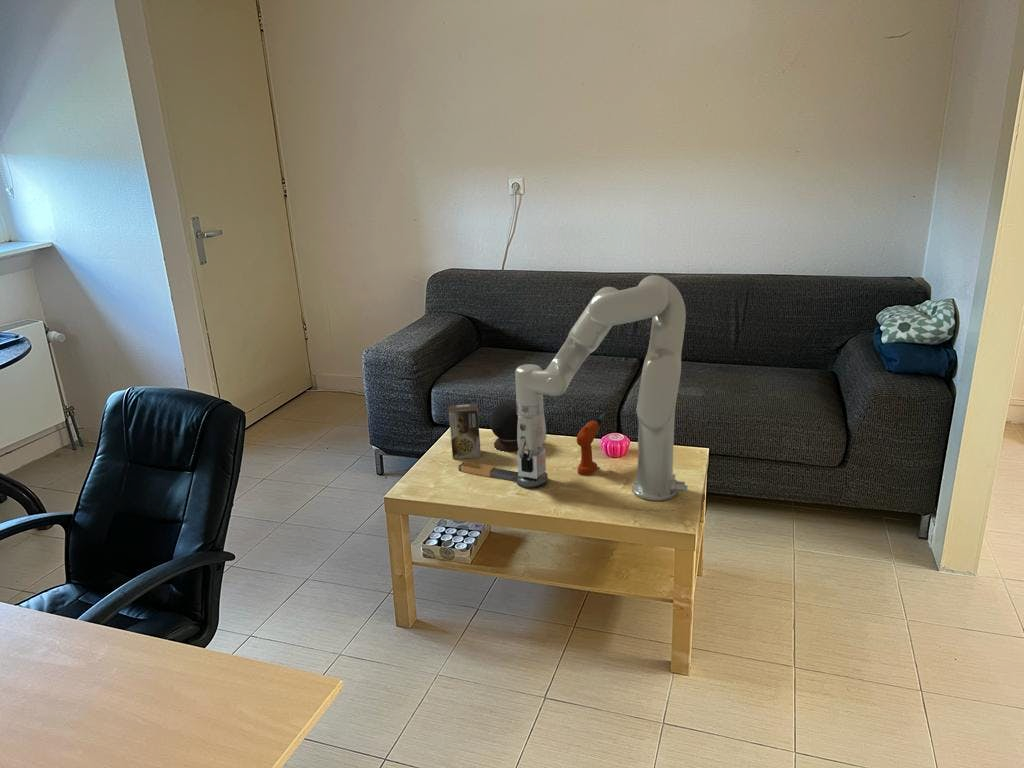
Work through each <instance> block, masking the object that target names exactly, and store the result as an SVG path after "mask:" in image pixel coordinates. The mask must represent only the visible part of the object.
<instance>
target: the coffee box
mask: <svg viewBox="0 0 1024 768" xmlns="http://www.w3.org/2000/svg"><path fill="white" fill-rule="evenodd" d="M478 411H479V410H478V404H477V403H463V404H450V405H449V406H448V419H449V430H450V441H451V455H452V456H451V458H452V460H459V459H470V458H471V459H473V458H481V457H482V451H481V441H480V440H481V438H480V427H479V412H478Z"/></svg>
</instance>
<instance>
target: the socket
mask: <svg viewBox="0 0 1024 768" xmlns="http://www.w3.org/2000/svg"><path fill="white" fill-rule="evenodd" d="M525 448H527V446H525ZM527 449H528V448H527ZM524 452H525V453H526V454H527V455H528V451H524ZM516 453H517V452H516ZM516 455H517V472H518V476H523V477H529V478H534V479H538V478H539V477H540V476H541V475H542V474H543V473H544V472H546V471H547V469H546V468H547V466H546V464H547V463H546V462H547V461H546V448H544V447H542V448H539V447H538V448H537V449H536V450H534V451H532V452H531V459H532V472H531V473H529V472H524V471H522V467H521V459H520V455H519V454H518V453H517V454H516Z"/></svg>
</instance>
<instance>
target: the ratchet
mask: <svg viewBox="0 0 1024 768" xmlns="http://www.w3.org/2000/svg"><path fill="white" fill-rule="evenodd" d="M458 472H461V473H466V472H467V473H468V474H471V473H472V475H479V476H483V477H487V478H494V479H501V480H506V481H511V482H516V485H517V486H518V487H520V488H523V489H526V490H536V489H537V490H538V489H541V487H542V488H544V487H545V485H546V486H547V485H548V481H549V479H548V478H549V477H548V473H547V472H546V471H545V472H544V473H543V474H542V475H541V476H540V477H539V478H538V479H534V478H529V477H523V476H518V471H515V470H509V469H503V468H497V467H496V466H495V465H491V464H490V465H489V464H485V463H479V462H478V463H477V462H475V461H474V462H473V461H465V462H464V461H463V462H461V463H460V464H459V465H458Z"/></svg>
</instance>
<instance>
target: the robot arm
mask: <svg viewBox="0 0 1024 768" xmlns="http://www.w3.org/2000/svg"><path fill="white" fill-rule="evenodd" d="M686 312H687V311H686V305H685V302H684V298H683V296H682V294H681V292H680V291H679V289H678V287H676V285H675V284H673V282H671V281H670V280H669V279H667V278H666V277H663V276H662V275H659V274H658V275H656V274H655V275H654V274H651V275H648V276H646V277H644V278H643V279H642V280H640V282H639V283H638V285H637V286H634V287H629V288H626V289H620V290H619V289H617V288H616V287H612V286H604V287H602V288H600V289H598V291H596V292H595V294H594V295H593V296H592V298H591V300H590V301H589V303H588V305H586V307H585V309H584V310H583V312H582V313H581V314H580V316H579V317H578V319H577V320H576V322H575V323H574V325H573V326H572V327H571V329H570V331H569V333H568V334H567V338H566V339H565V342H564V343H562V346H561V347H560V349H559V350H558V352H557V353H556V354H555V356H554V357H553V359H552V360H551V362H550V363H549V364H548V366H547V367H546V369H542V368H541V366H539V365H537V364H531V363H530V364H529V363H528V364H527V363H525V364H522V365H519V366H518V367H516V369H515V372H514V374H515V377H514V378H515V396H516V399H515V402H517V403H516V404H517V415H518V426H517V442H518V448H519V449H518V452H516V453H518V454H519V455H520V459H521V467H522V471H524V472H529V473H531V472H532V459H531V452H532V451H534V450H536V449H537V448H538V447H539V448H543V444H544V443H545V442H546V441H547V429H546V428H547V426H546V418H545V412H544V395H545V396H549V397H559V396H561V395H563V394H564V393H566V391H567V389H568V388H569V385H570V383H571V381H572V380H573V378H574V376H575V375H576V373H577V372H578V370H579V369H580V368H581V366H582V364H583V363H584V362H585V361H586V360H587V358H588V357H589V356H590V354H592V353H593V352H594V351H596V350H597V348H598V347H599V346H600V345H601V343H602V342H603V340H604V339H605V337H606V336H607V335H608V333H609V332H610V331H611V329H612V327H613V326H620V325H624V324H628V323H634V322H637V321H643V320H647V319H650V318H652V320H651V326H650V327H651V328H650V337H649V341H648V342H649V344H648V349H647V351H646V352H647V353H646V355H645V358H644V361H643V366H642V369H641V371H642V372H641V377H640V378H641V379H640V383H639V391H638V397H637V404H636V409H635V410H636V411H635V412H636V416H637V419H638V431H637V432H638V433H637V434H638V437H637V444H638V445H637V480H635V481H633V483H632V484H631V491H632V493H633V494H634V495H635V496H636V497H638V498H640V499H641V498H642V499H644V500H647V501H666V500H670V499H672V498H674V497H676V496H677V494H678V492H681V493H682V492H683V493H687V492H688V485H687V484H686V481H681V480H680V481H679V480H678V479H676V474H673V473H674V472H673V471H674V469H673V468H674V467H673V464H674V441H675V418H676V417H675V416H676V405H677V398H678V392H679V387H680V380H681V375H682V373H681V372H682V351H683V345H684V344H683V343H684V338H685V337H684V335H685V330H686V329H685V328H686V317H687V316H686V315H687V314H686ZM525 446H527V448H528V449H527V448H525ZM524 451H528V455H527V454H526V453H525V452H524Z"/></svg>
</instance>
